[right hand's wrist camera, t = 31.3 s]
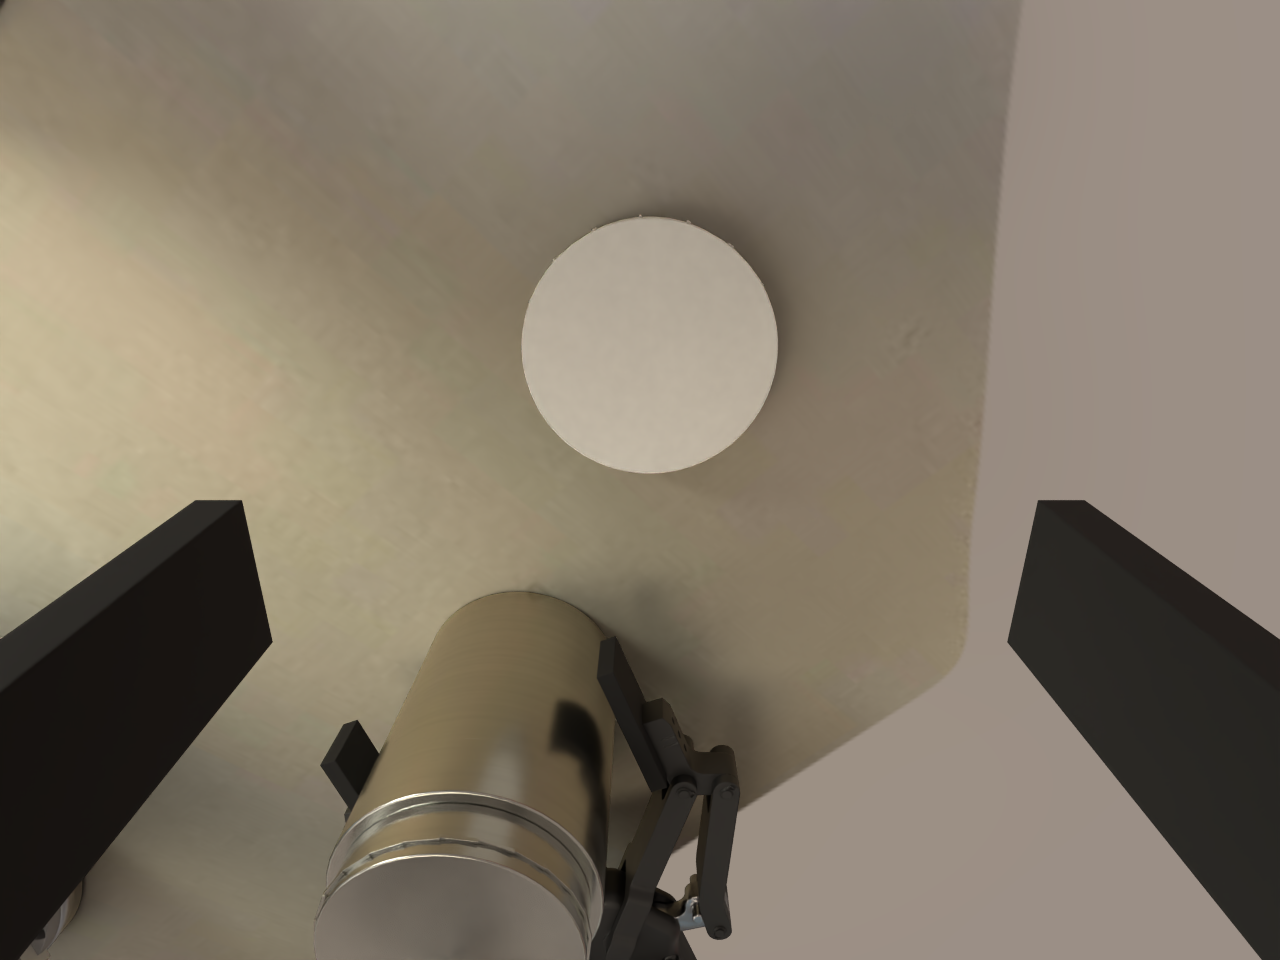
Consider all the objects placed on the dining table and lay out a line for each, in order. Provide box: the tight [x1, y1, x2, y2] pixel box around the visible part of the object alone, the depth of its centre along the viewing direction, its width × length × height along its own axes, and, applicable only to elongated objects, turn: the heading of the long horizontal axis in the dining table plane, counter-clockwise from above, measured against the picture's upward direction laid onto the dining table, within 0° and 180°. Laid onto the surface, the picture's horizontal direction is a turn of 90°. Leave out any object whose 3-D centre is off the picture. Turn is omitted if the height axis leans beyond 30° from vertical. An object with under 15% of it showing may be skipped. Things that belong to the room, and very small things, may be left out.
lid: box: [521, 215, 778, 474], centre depth 33 cm, size 11×11×2 cm
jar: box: [314, 592, 615, 960], centre depth 33 cm, size 10×10×16 cm
